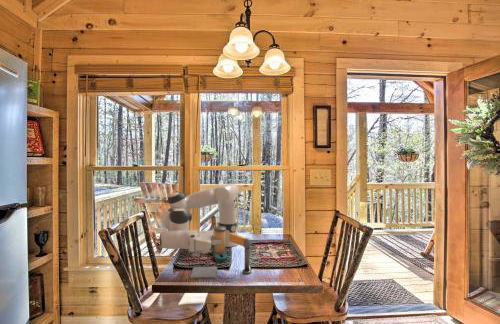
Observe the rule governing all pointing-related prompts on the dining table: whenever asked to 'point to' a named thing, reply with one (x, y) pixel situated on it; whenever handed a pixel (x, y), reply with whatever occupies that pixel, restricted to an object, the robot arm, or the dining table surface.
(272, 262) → the dining table surface
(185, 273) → the dining table surface
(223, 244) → the cylinder
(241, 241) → the orange wooden bar
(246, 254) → the post
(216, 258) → the bracket
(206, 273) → the pad
